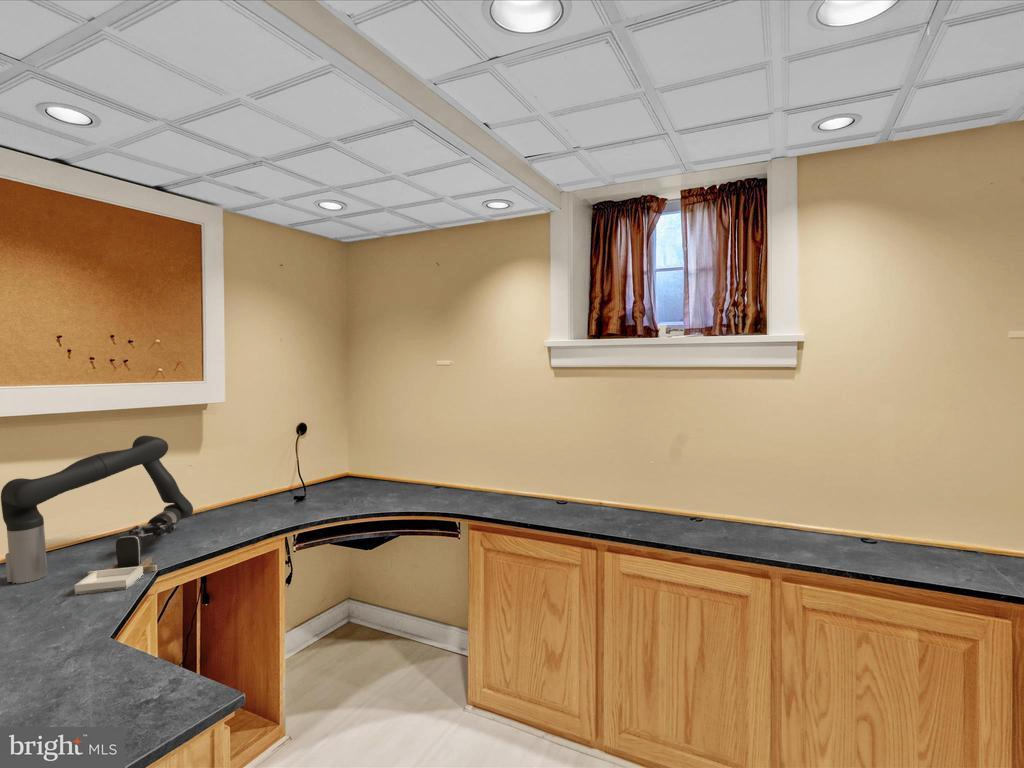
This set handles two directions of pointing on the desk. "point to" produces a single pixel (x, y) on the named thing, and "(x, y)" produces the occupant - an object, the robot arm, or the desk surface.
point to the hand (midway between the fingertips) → (144, 536)
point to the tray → (108, 580)
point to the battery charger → (128, 551)
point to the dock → (144, 564)
